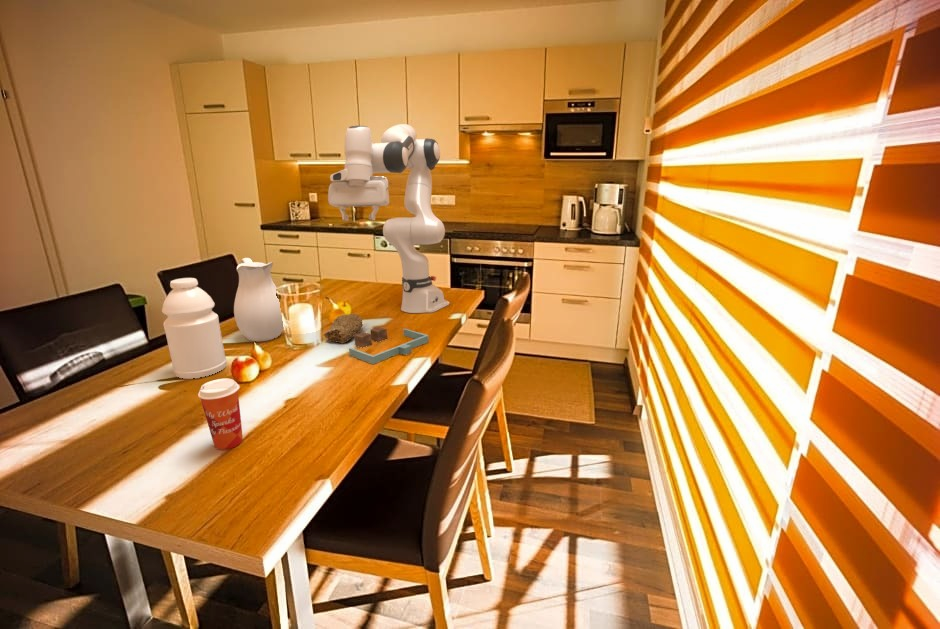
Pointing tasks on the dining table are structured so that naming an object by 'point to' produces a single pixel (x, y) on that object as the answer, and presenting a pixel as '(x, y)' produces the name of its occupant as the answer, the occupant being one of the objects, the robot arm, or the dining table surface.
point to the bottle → (192, 331)
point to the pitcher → (257, 302)
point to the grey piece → (400, 349)
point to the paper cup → (222, 412)
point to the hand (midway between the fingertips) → (358, 220)
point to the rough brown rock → (344, 328)
